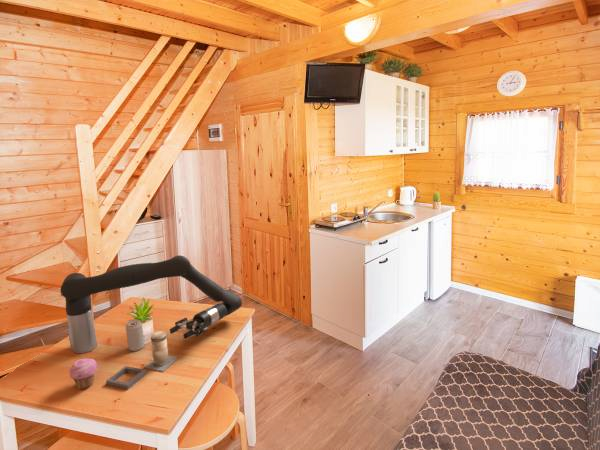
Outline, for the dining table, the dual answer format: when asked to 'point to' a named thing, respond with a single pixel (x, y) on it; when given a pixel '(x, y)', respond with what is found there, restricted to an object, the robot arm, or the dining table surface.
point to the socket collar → (112, 380)
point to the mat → (161, 368)
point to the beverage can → (135, 335)
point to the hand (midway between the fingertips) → (177, 334)
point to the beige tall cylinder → (159, 348)
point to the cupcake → (83, 372)
